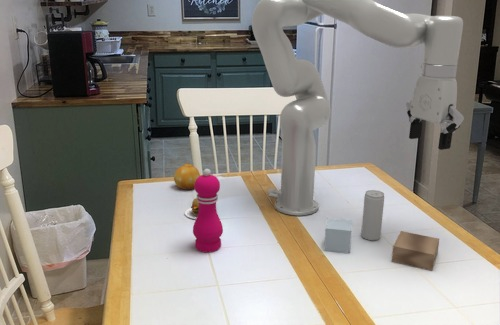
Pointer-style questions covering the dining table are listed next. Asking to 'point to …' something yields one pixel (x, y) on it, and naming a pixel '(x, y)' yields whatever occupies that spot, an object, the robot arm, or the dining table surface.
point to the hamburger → (193, 208)
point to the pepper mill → (207, 214)
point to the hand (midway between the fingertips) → (428, 143)
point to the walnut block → (415, 250)
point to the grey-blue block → (338, 235)
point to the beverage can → (372, 214)
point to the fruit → (186, 176)
